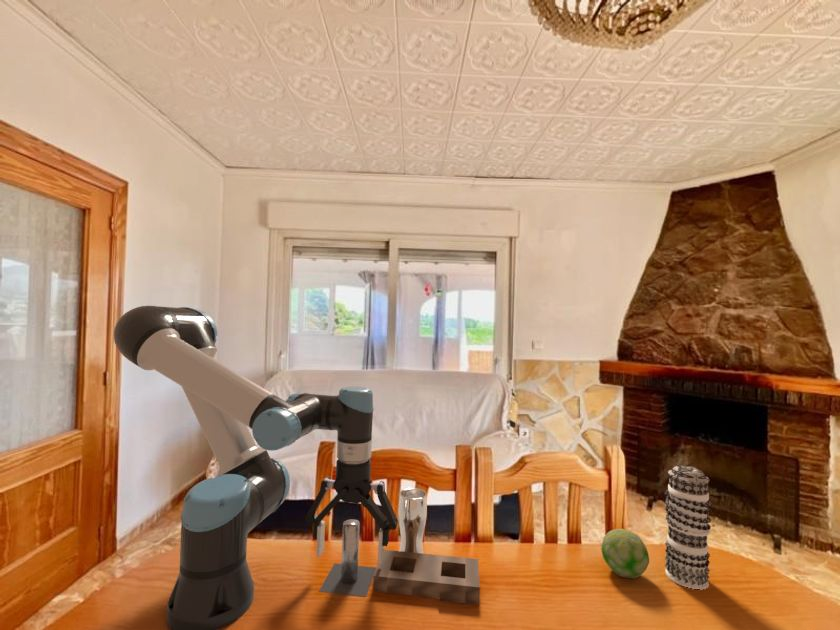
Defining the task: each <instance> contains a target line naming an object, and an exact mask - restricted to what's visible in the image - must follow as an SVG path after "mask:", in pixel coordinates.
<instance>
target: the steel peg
mask: <svg viewBox="0 0 840 630" xmlns="http://www.w3.org/2000/svg"><path fill="white" fill-rule="evenodd" d="M360 523H361V522H360V521H359V520H358V519H352V518H351V519H350V518H349V519H347V520H344V521H343V522H342V541H341V543H342V544H341V563H340V564H341V582H342V583H344V584H353V583H355V582H356V581H357V579H358V566H359V552H360V551H359V550H360V527H361V526H360V525H361V524H360Z"/></svg>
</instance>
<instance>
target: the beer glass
mask: <svg viewBox="0 0 840 630" xmlns="http://www.w3.org/2000/svg"><path fill="white" fill-rule="evenodd" d="M427 499H428V498H427V491H425V490H424V489H421V488H419V487H418V488H416V487H408V488H404V489H402V490H401V491H400V492H399V501H398V525H399V532H400V545H399V550H398V551H403V552H413V553H423V554H424V548H423V546H424V545H423V538H424V531H425V528H426V522H427V516H428V506H427V505H428V500H427Z"/></svg>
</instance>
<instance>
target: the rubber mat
mask: <svg viewBox="0 0 840 630" xmlns="http://www.w3.org/2000/svg"><path fill="white" fill-rule="evenodd" d="M376 568H377V567H375V566H373V567H372V566H364V565H358V579H357V581H356V582H355V583H353V584H344V583H342V582H341V563H336V562H334V563H333V564H332V567H331V568H330V570H329V572H328V574H327V576H326V577H325V579H324V581H323V583H322V585H321V587H320V589H319V590H318V592H319V593H320V592H321V593H326V594H327V593H329V594H337V595H344V596H345V595H346V596H353V597H354V596H355V597H360V598H361V597H362V598H367V595H368V593H369V590H370V587H371V586H372V585H371V584H372V582H373V579H374V573H375V571H376Z"/></svg>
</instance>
